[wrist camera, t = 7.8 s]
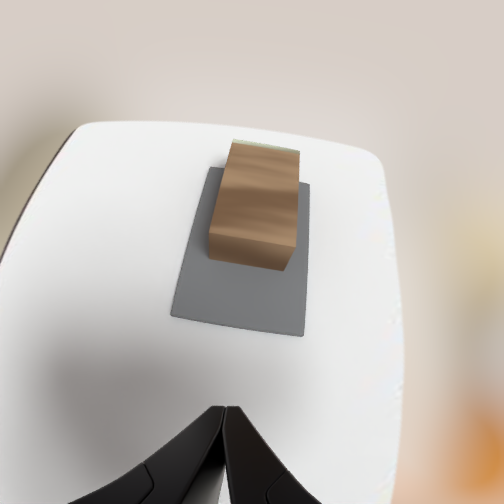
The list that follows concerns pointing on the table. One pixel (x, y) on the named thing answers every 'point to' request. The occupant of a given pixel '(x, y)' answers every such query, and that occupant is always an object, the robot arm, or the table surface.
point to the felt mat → (242, 277)
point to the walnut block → (256, 207)
